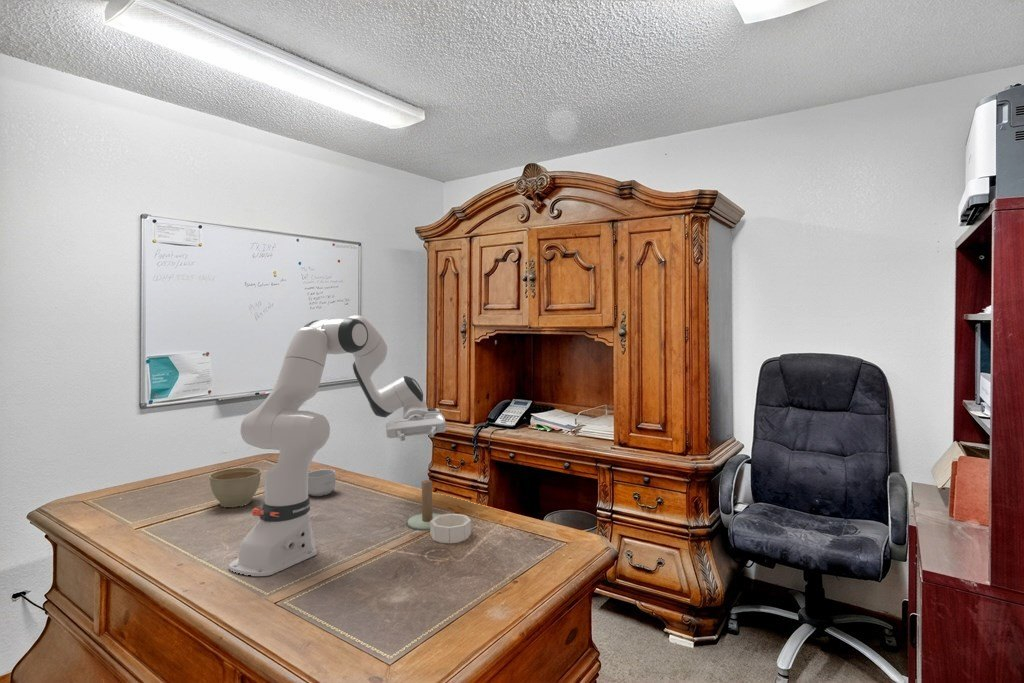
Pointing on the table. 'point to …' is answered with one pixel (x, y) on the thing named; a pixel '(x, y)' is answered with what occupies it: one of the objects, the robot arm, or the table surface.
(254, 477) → the planter bowl
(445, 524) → the bowl
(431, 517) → the peg stand
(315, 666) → the table surface
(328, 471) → the teacup
